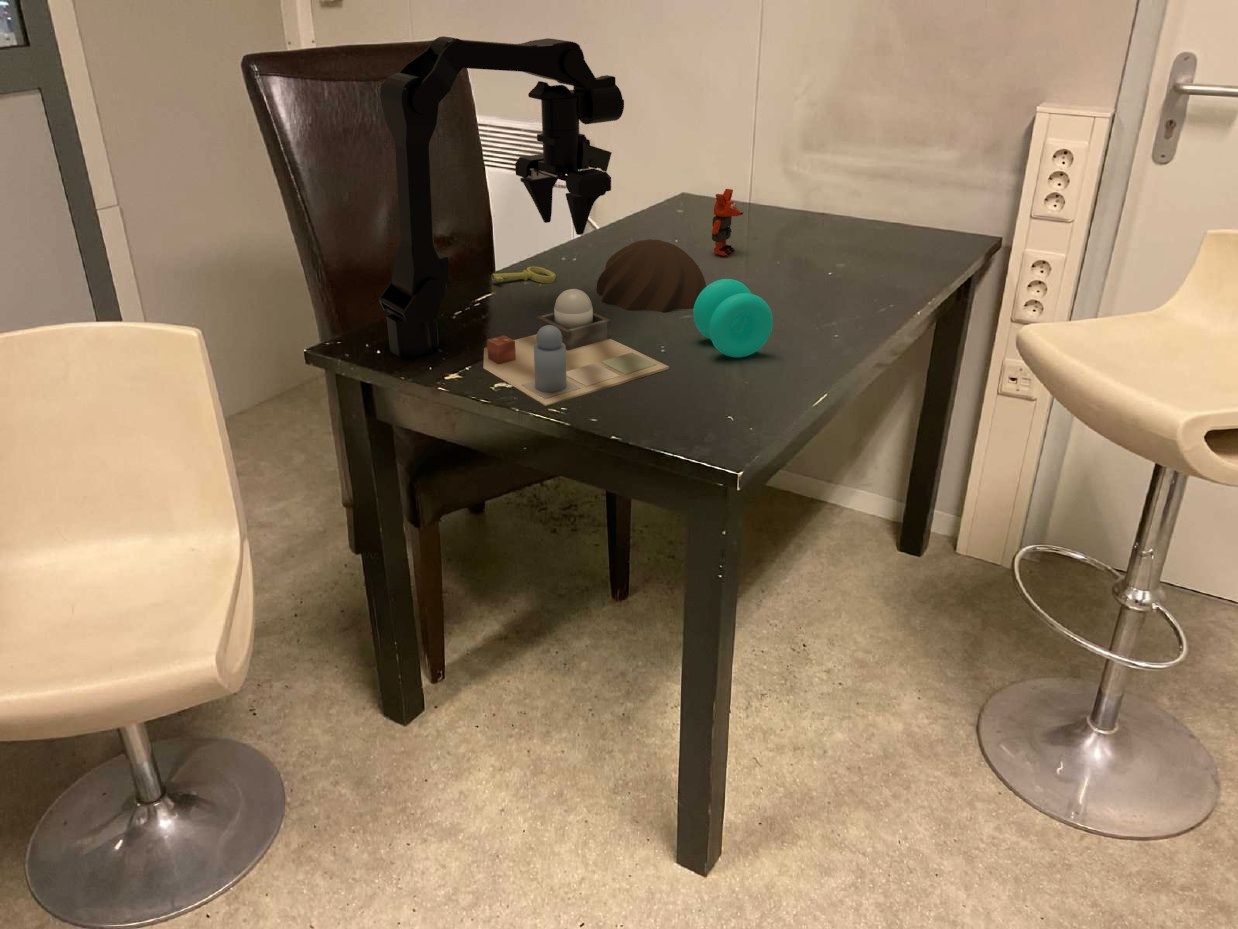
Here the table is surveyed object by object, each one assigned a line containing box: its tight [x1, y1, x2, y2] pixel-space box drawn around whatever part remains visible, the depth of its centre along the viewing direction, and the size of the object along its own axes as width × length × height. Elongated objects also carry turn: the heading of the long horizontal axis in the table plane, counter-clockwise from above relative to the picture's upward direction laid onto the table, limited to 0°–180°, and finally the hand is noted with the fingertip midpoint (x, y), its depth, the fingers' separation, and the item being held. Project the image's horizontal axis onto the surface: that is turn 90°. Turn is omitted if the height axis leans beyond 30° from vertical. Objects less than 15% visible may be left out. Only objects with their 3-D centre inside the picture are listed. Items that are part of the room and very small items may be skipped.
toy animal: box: [711, 188, 744, 256], centre depth 198 cm, size 8×6×12 cm
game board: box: [483, 311, 670, 407], centre depth 150 cm, size 22×23×4 cm
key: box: [491, 266, 557, 284], centre depth 183 cm, size 7×12×2 cm, turn 138°
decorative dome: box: [596, 238, 707, 313], centre depth 177 cm, size 19×20×10 cm
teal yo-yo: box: [692, 278, 774, 358], centre depth 153 cm, size 10×10×10 cm
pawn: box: [534, 325, 567, 393], centre depth 139 cm, size 4×4×9 cm
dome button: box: [553, 288, 594, 329], centre depth 157 cm, size 6×6×6 cm
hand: (563, 228), depth 162 cm, fingers open, 9 cm apart
